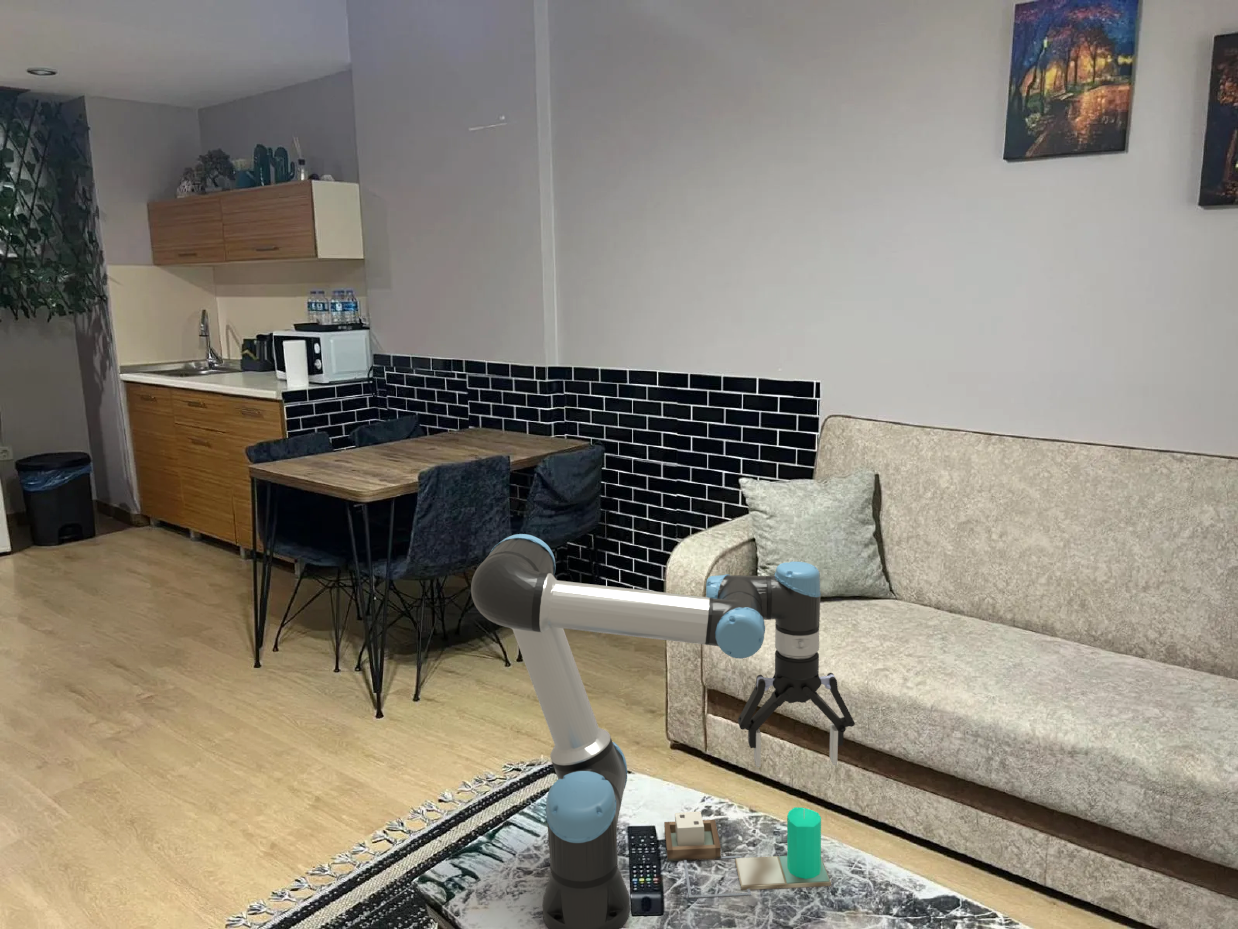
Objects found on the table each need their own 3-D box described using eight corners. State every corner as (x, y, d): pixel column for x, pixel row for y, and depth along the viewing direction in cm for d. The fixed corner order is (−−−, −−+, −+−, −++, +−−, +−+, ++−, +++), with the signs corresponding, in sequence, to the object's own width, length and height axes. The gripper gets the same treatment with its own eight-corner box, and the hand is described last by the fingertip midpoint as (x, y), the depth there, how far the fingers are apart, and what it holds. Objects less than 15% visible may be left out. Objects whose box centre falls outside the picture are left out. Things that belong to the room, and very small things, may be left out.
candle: (780, 863, 169) (780, 804, 166) (808, 854, 171) (808, 796, 168) (799, 882, 163) (799, 822, 161) (827, 873, 165) (828, 813, 163)
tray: (667, 861, 172) (667, 850, 171) (664, 833, 181) (664, 822, 180) (720, 859, 172) (720, 847, 172) (715, 830, 181) (715, 819, 180)
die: (678, 852, 174) (677, 828, 173) (675, 836, 179) (674, 812, 178) (704, 850, 174) (704, 826, 173) (701, 834, 179) (700, 811, 178)
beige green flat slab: (741, 890, 163) (741, 885, 163) (735, 862, 171) (734, 857, 171) (830, 886, 163) (831, 881, 163) (820, 858, 171) (820, 853, 171)
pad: (688, 898, 162) (688, 897, 162) (683, 859, 172) (683, 858, 172) (751, 895, 162) (751, 894, 162) (741, 856, 173) (741, 855, 173)
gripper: (727, 661, 156) (727, 775, 160) (874, 658, 156) (870, 771, 160) (722, 644, 163) (723, 753, 167) (862, 640, 163) (859, 749, 167)
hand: (795, 762), depth 164 cm, fingers open, 13 cm apart
